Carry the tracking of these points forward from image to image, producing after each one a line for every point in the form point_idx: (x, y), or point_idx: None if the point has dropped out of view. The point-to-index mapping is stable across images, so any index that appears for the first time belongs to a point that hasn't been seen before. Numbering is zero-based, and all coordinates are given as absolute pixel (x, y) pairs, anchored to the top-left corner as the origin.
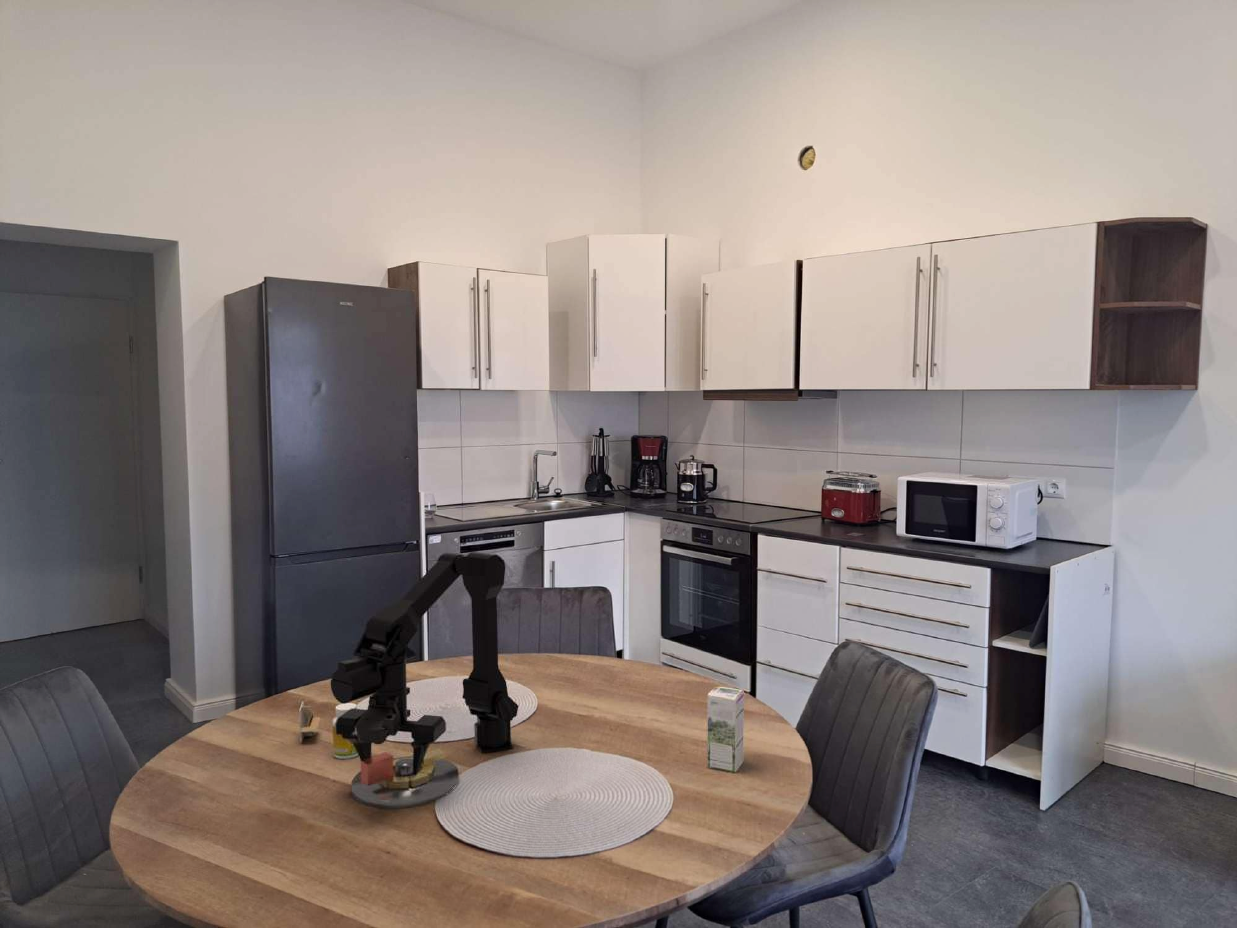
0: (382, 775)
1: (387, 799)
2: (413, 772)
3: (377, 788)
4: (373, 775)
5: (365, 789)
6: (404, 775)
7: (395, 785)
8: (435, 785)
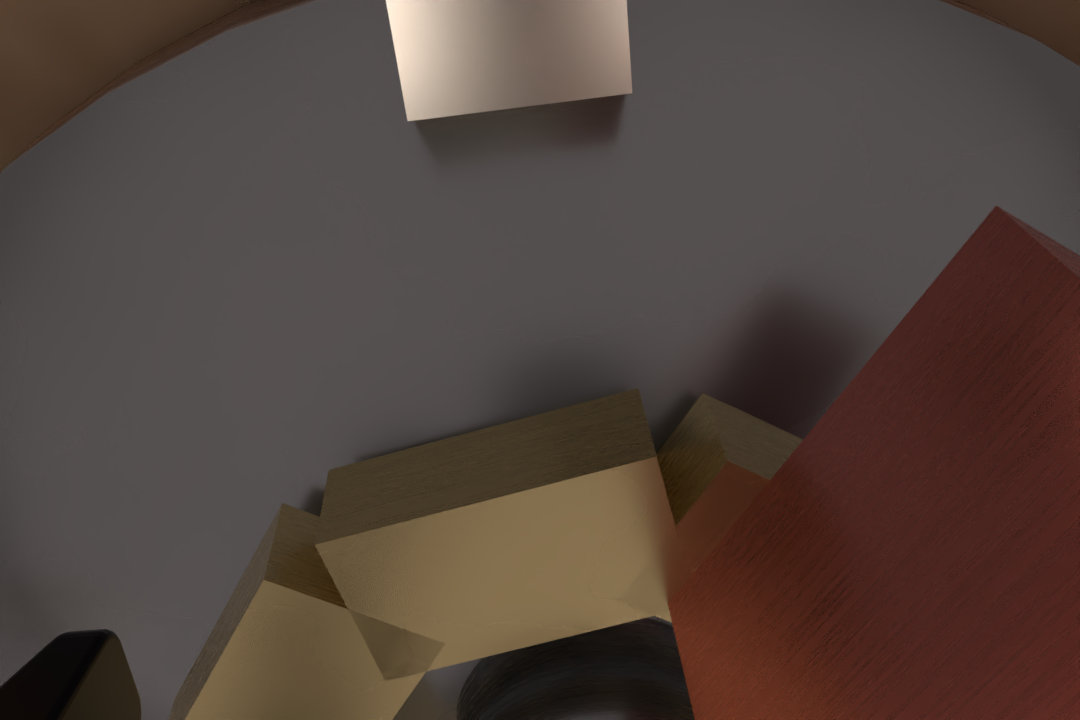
0: (824, 520)
1: (440, 3)
2: (82, 668)
3: (853, 368)
4: (989, 406)
5: None
6: (547, 698)
7: (540, 443)
8: (34, 644)
